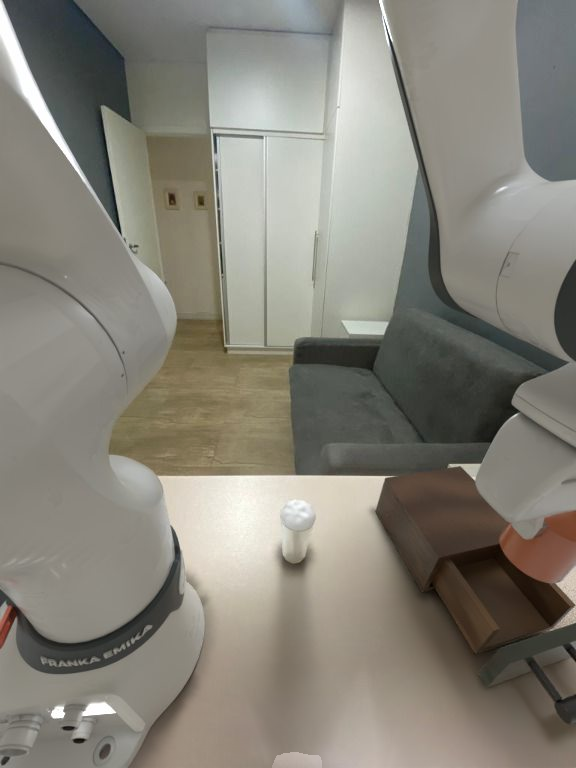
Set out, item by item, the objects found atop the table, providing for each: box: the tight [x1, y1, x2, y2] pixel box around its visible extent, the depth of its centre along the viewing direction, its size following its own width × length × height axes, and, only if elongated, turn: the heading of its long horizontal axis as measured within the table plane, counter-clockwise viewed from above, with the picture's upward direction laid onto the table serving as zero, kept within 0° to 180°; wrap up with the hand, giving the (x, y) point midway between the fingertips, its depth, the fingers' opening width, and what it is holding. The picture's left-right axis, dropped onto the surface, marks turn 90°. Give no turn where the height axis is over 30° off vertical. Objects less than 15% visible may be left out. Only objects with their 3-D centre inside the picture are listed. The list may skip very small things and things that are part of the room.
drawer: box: [432, 547, 576, 725], centre depth 34 cm, size 16×12×6 cm
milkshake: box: [279, 498, 317, 565], centre depth 41 cm, size 5×5×10 cm
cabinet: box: [375, 465, 508, 593], centre depth 45 cm, size 13×14×8 cm
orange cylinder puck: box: [499, 511, 576, 584], centre depth 30 cm, size 6×6×6 cm
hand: (552, 525), depth 29 cm, fingers closed on orange cylinder puck, 5 cm apart
